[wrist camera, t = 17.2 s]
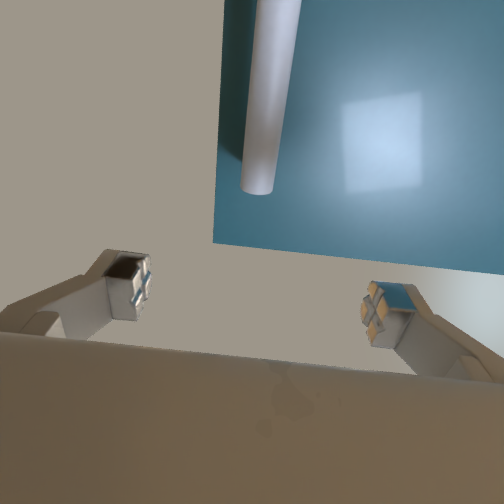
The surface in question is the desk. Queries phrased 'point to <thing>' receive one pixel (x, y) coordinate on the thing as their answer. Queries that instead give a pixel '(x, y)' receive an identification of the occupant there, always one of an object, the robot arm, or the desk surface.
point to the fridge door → (364, 130)
